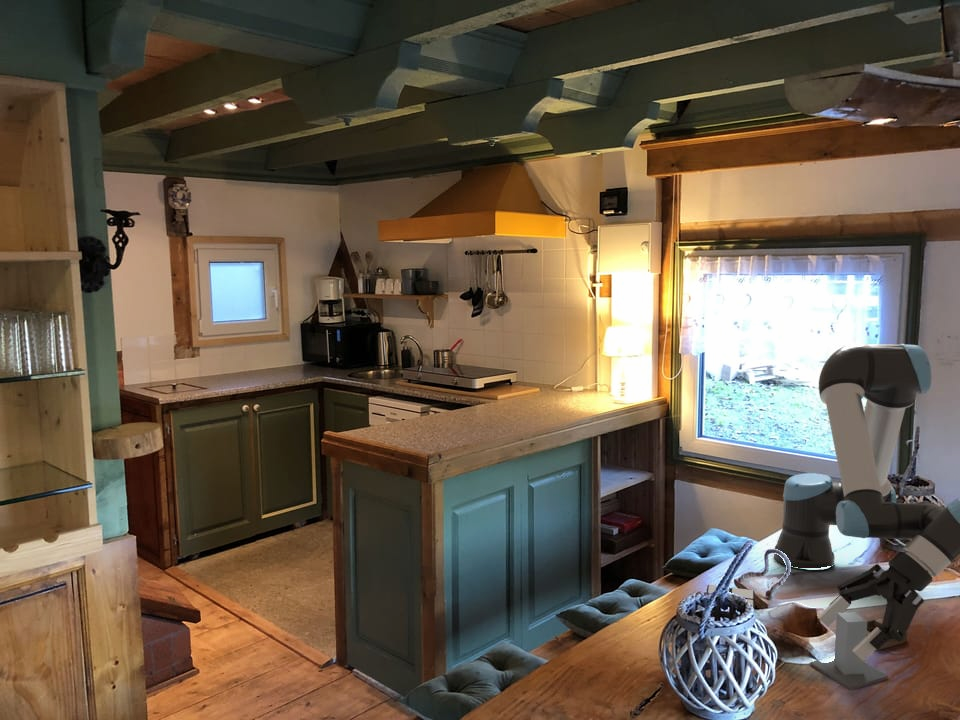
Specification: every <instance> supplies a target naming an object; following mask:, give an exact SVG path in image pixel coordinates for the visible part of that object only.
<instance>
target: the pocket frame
mask: <svg viewBox="0 0 960 720" xmlns="http://www.w3.org/2000/svg"><path fill="white" fill-rule="evenodd" d="M863 618H864V619H865V620H866V621H867V634H866V637H867V636H868V635H869V634H870V633H871V632H872V631H871V632H870V631H869V630H874V629H875V628H876V627H878V628H879V626H882V623H883V619H881V618H879V617H877V616H875V615H871V616H868V617H863ZM879 629H880V628H879ZM880 630H881V629H880ZM881 631H882V630H881ZM897 631H898V632H899V630H897ZM908 635H909V632H908V631H907V632H906V634H905V636H904V638H903V640H902V641H897V640H896V639H889V640H888V641H887V642H886V643H885V644H884V645H883V646H882V647H880V648H879V649H876V650H878V651H879V650H882V649H883V650H884V649H887V648H889V647H893V646H897V645H900V644H904V643H907V641H908Z"/></svg>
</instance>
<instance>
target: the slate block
mask: <svg viewBox="0 0 960 720" xmlns="http://www.w3.org/2000/svg"><path fill="white" fill-rule="evenodd" d="M864 618H865V617H863V616H861V614H860V613H858V611H851V612H849V611H848V612H847V611H844V612H843V613H837V619H836V623H835V625H836V626H835V642H834V655H835V659H834V664H835V665H836V667H837V668H838V669H839V670H840V671H841V672H842V673H843V674H844V675H846V674H864V664H865V663H866V662H865V661H866V659H865V660H864V661H862V660H861V659H860V658H859V657H858V656H857V655H856V654H855V653H854V652H853V651H852V650H853V649H854V648H855V647H856V646H857V645H858V644H859V643H860V642H861V641H862V640H864V639H865V638H866V634H867V631H868V630H867V621H866V620H865V619H864Z"/></svg>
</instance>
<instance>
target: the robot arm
mask: <svg viewBox="0 0 960 720" xmlns="http://www.w3.org/2000/svg"><path fill="white" fill-rule="evenodd" d="M818 378H819V379H818V392H819V398H820V400H821V402H822V403H823V404H825V407H826V411H827V415H828V420H829V426H830V431H831V435H832V442H833V445H834V451H835V456H836V462H837V467H838V472H839V476H840V480H839V481H838V480H834V481H833V479H832V478H831V477H830V476H829V475H827V474H823V473H815V472H811V473H810V472H809V473H808V472H807V473H806V472H805V473H799V474H795V475H792V476H790V477H789V478H787V479H786V481H785V483H784V489H783V494H782V497H783V505H782V525H781V526H782V528H781V532H780V534H779V536H778V539H777V542H776V544H775V546H774V549H778V550H780V551H782V552H783V553H785V554H786V555H787V557H788V558H789V560H790V562H791V566H793V567H798V568H821V567H827V566H832V565H833V564H834V565H835V558H836V557H835V553H834V552H833V548H832V544H831V543H832V542H831V540H830V535H829V534H830V526H837V530H838V532H839V533H840V534H841V535H843V536H845V537H850V538H851V537H852V538H853V537H854V538H860V539H867V538H871V539H894V540H895V539H896V540H910V541H909V542H907V544H905V545H904V546H903V551H898V553H896V555H894V556H893V557H892V558H891V559H890V560H888V566H889V568H887V570H884V568H882V567H881V565H879V564H878V563H876V564H874V565H872V567H871V568H869V569H868V570H866V571H864V572H862V573H860V574H858V575H856V576H854V577H852V578H849V579H847V580H846V581H843V582H841V583H838V584H837V587H836V588H837V590H838V592H839V594H838V595H837V597H835V598H834V599H833V600H832V601H831V602H830V603H829V604H828V607H826V608H825V609H824V610H822V612H821V613H820V614H819V615H818V616H817V618H818V620H820V621H821V622H822V623H823V624H824V625H825V626H826V627H827V628H829V627H830V625H831V624H832V623H834V621H837V613H843V612H846V610H847V609H849V607H851V605H852V602H854V601H857V600H862V599H865V598H870V597H873V596H878V597H881V598H883V599H885V600H886V606H885V609H884V615H883V617H882V618H883V619H882V620H883V623H882V626H879V628H880V629H881V630H882V631H881V630H880V629H879V628H878V627H876V628H875V629H872V631H871V633H870V634H869V635H868V636H867V637H866V638H865V639H864V640H862V641H861V642H860V643H859V644H858V645H857V646H856V647H855V648H854V649H853V650H852V651H853V652H854V653H855V654H856V655H857V656H858V657H859V658H860V659H861V660H862V661H864V660H865V661H866V659H868V658H869V657H870V656H871V655H872V654H873V653H874V652H875V651H876V650H877V649H879V648H880V647H882V646H883V645H884V644H885V643H886V642H887V641H888V640H889V639H896V640H897V641H902V640H903V638H904V636H905V634H906V632H907V633H908V630H909V629H910V625H911V623H912V621H913V619H914V617H915V615H916V612H917V610H918V609H919V608H920V606H921V605H922V604H923V603H924V602H925V600H924V598H923V597H922V596H921V595H920V594H919V593H918V592H922V591H924V589H926V588H927V587H928V586H929V585H930V584H931V583H932V582H933V578H934V577H938V576H939V575H940V574H941V573H942V572H943V571H944V570H946V568H947V567H949V565H951V564H952V563H953V562H954V561H955V560H956V559H957V558H959V556H960V497H959V498H955V499H954V500H952V501H951V502H950V503H947V505H946V507H945V506H941V505H939V504H936V503H934V502H931V501H930V502H929V501H916V502H913V503H911V502H897V494H896V490H895V488H894V486H893V485H892V484H891V481H890V480H889V479H888V476H889V473H890V469H891V468H890V467H891V464H892V460H893V457H894V454H895V449H896V445H897V441H898V438H899V434H900V430H901V427H902V423H903V418H904V416H905V412H906V409H907V408H910V407H911V406H913V405H914V404H915V401H916V398H917V395H923V394H926V393H928V392H929V391H930V389H931V386H932V385H931V384H932V369H931V363H930V359H929V356H928V355H927V352H926V351H925V349H924V348H923V347H921V346H920V345H916V344H905V343H899V344H897V343H896V344H894V343H893V344H890V343H889V344H887V343H886V344H885V343H881V344H880V343H879V344H878V343H877V344H876V343H851V344H847V345H844V346H842V347H841V348H839V349H837V350H836V351H834V352H833V353H832V354H831V355H829V357H828V358H827V360H826V361H825V363H824V364H823V366H822V368H821V370H820V373H819V377H818ZM863 398H865V400H866V403H865V406H864V405H863V401H862V400H863ZM773 558H774V559H775V561H777V562H778V563H779V564H781V565H783V566H785V563H784V561H783V559H782V558H781V557H780V556H779V555H777V554H774V553H773ZM897 630H899V632H898V631H897Z"/></svg>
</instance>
